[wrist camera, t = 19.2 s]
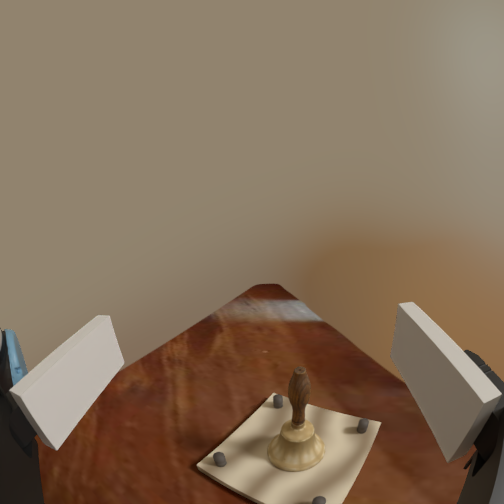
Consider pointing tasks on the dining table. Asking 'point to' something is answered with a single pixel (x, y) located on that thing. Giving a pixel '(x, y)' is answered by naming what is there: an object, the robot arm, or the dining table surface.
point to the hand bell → (297, 431)
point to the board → (285, 482)
